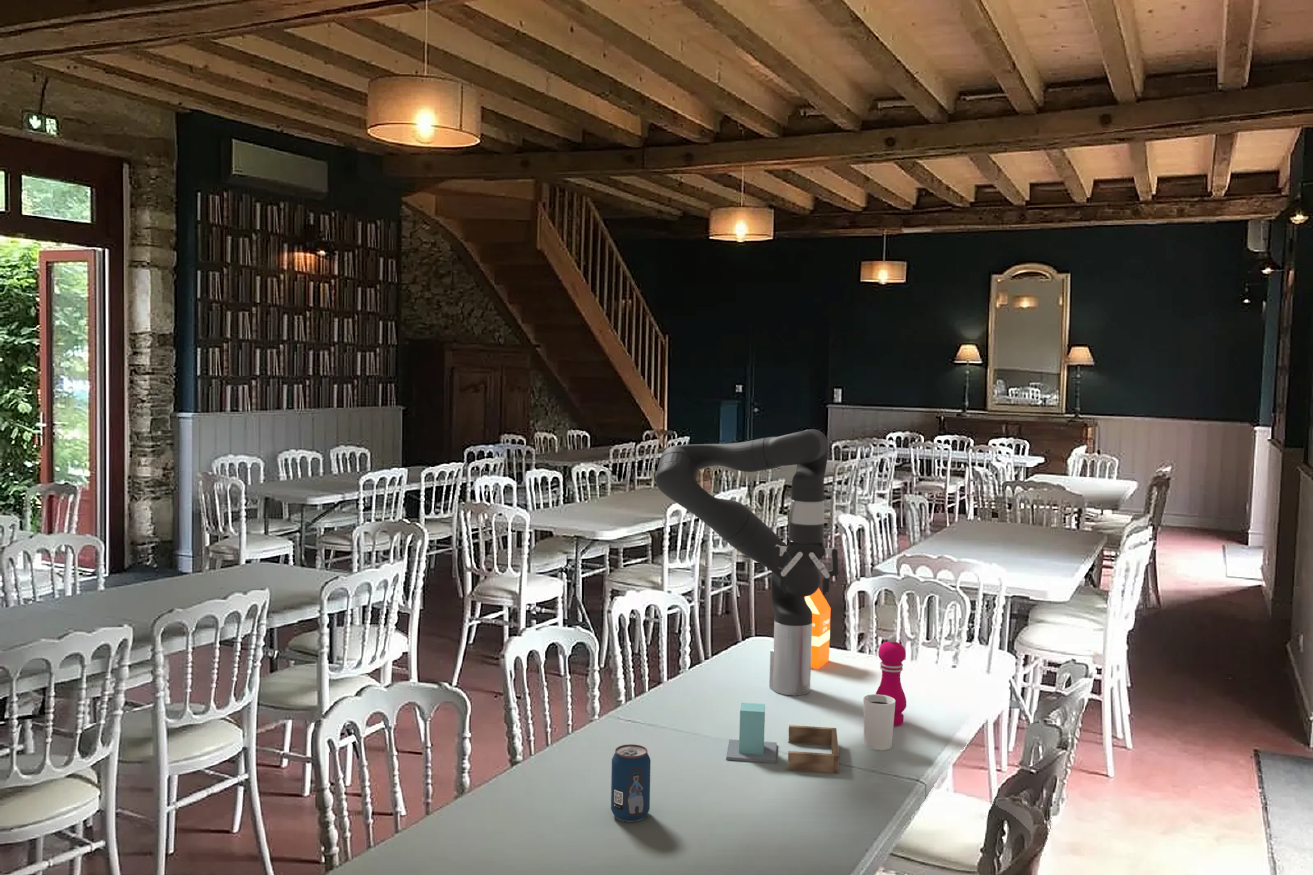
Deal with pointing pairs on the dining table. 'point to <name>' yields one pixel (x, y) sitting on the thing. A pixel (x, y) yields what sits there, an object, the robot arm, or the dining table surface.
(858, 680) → the dining table surface
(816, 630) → the orange juice
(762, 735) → the teal block
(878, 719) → the white paper cup
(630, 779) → the soda can
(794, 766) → the walnut cubby
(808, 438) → the robot arm
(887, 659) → the pepper mill
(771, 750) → the slate mat
